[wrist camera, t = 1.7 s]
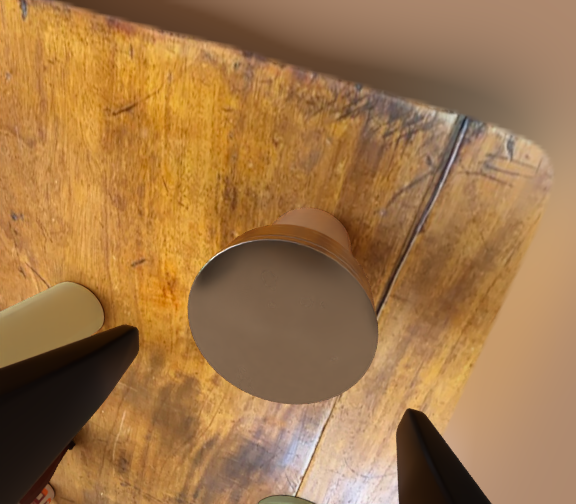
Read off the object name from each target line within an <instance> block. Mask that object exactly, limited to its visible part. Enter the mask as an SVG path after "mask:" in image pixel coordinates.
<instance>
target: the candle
mask: <svg viewBox="0 0 576 504" xmlns="http://www.w3.org/2000/svg"><path fill="white" fill-rule="evenodd" d="M103 322H104V312H103V309H102V306H101V304H100V302H99V300H98V299H97V298H96V297H95V295H94V294H93V293H92V292H90V291H89V290H88V289H87V288H85V287H83V286H82V285H79V284H76V283H73V282H62V283H59V284H57V285H55V286H53V287H51V288H49V289H47V290H45V291H43V292H40V293H38V294H36V295H34V296H32V297H30V298H28V299H26V300H24V301H22V302H20V303H17V304H15V305H13V306H11V307H9V308H7V309H5V310H3V311H1V312H0V368H2V367H5V366H8V365H11V364H14V363H16V362H19V361H22V360H25V359H28V358H31V357H33V356H36V355H39V354H42V353H45V352H47V351H50V350H53V349H56V348H59V347H62V346H64V345H67V344H70V343H73V342H76V341H78V340H81V339H84V338H87V337H90V336H91V335H92V334H94V333H95V332H96V331H98V330H99V329H100V328H101V327H102V325H103Z"/></svg>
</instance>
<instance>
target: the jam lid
mask: <svg viewBox="0 0 576 504" xmlns="http://www.w3.org/2000/svg"><path fill="white" fill-rule="evenodd" d="M188 319H189V325H190V329H191V332H192V336H193V338H194V340H195V343H196V345H197V347H198V348H199V350H200V352H201V354H202V355H203V356H204V358H205V359H206V360H207V362H208V363H209V364H210V365H211V366H212V368H213V369H214V370H215V371H216V372H217V373H218V374H220V375H221V376H222V377H223V378H224V379H226V380H227V381H228V382H230V383H231V384H232V385H234V386H236V387H237V388H239V389H241V390H242V391H244V392H247V393H249V394H251V395H253V396H256V397H259V398H261V399H264V400H268V401H272V402H277V403H284V404H310V403H316V402H321V401H324V400H328V399H330V398H333V397H335V396H338V395H340V394H341V393H343V392H345V391H347V390H348V389H349V388H351V387H352V386H353V385H355V384H356V383H357V382H358V381H359V380H360V379H361V378H362V377H363V375H364V374H365V373H366V371H367V370H368V368H369V367H370V365H371V363H372V360H373V358H374V356H375V352H376V349H377V343H378V323H377V317H376V311H375V306H374V300H373V295H372V290H371V286H370V283H369V281H368V278H367V276H366V274H365V272H364V270H363V268H362V267H361V265H360V264H359V263H358V261H357V260H356V258H355V257H354V256H353V255H352V254H351V253H350V252H349V251H348V250H347V249H346V248H345V247H343V246H342V245H341V244H340V243H338V242H337V241H335V240H334V239H332V238H330V237H329V236H327V235H325V234H323V233H321V232H318V231H316V230H313V229H310V228H307V227H303V226H297V225H290V224H275V225H267V226H262V227H258V228H255V229H252V230H250V231H247V232H245V233H244V234H242V235H240V236H238V237H237V238H235V239H234V240H233V241H232V242H230V243H229V244H228V245H227V246H225V247H224V248H223V249H222V250H221V251H219V252H218V253H217V254H216V255H215V256H213V257H212V258H211V259H210V260H209V261H208V262H207V263H206V264H205V265H204V266H203V267H202V269H201V270H200V272H199V273H198V275H197V276H196V278H195V280H194V282H193V284H192V287H191V291H190V294H189V300H188Z"/></svg>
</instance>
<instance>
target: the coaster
mask: <svg viewBox="0 0 576 504" xmlns="http://www.w3.org/2000/svg"><path fill="white" fill-rule="evenodd" d="M258 504H313V503H311V502H308V501H306V500H303V499H300V498H296V497H291V496H272V497H268V498H265V499H263V500H261V501H260V502H259V503H258Z"/></svg>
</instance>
